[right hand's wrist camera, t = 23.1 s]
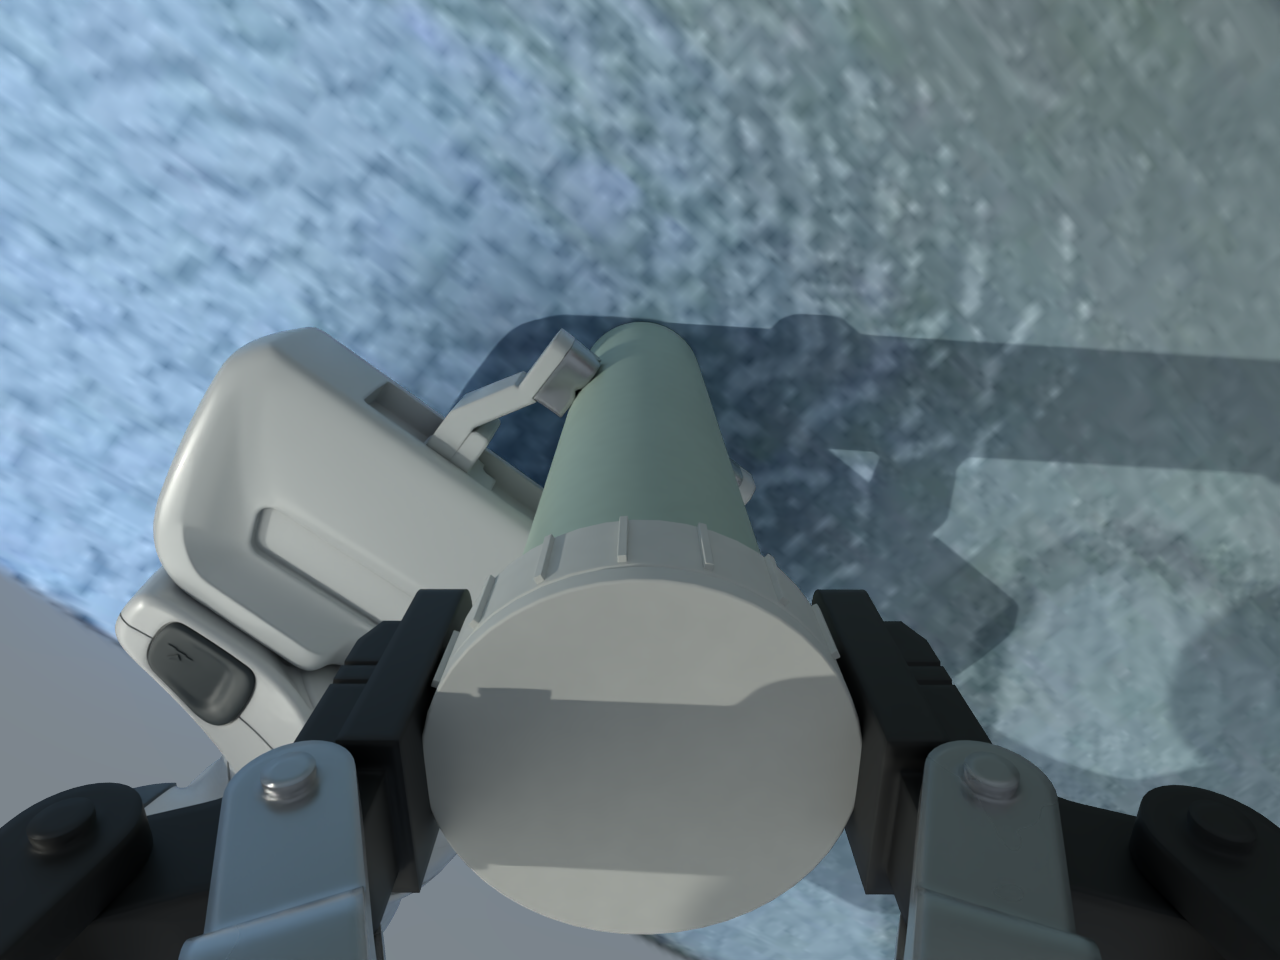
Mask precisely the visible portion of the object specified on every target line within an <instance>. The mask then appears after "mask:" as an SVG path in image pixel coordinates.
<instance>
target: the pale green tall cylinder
mask: <svg viewBox="0 0 1280 960" xmlns="http://www.w3.org/2000/svg"><path fill="white" fill-rule="evenodd" d="M590 350H591V351H592V352H593V353H594V354H596V355H597V356H598V357H599V358H601V359H602V360H601V362H600V367H599V369H598V370H597V372H596V374H595V375H594V376H593V378H592V379H591V380H590V382H589V383H588V384H587V385H586V386H585V387H584V388H582V389H579V390H578V391H577V395H576V398H575V400H574V402H573V403H572V405H571V406H570V408H569V411H568V415H567V418H566V421H565V424H564V427H563V430H562V433H561V436H560V440H559V443H558V446H557V449H556V452H555V455H554V458H553V461H552V464H551V468H550V471H549V474H548V477H547V480H546V483H545V486H544V489H543V493H542V496H541V499H540V502H539V505H538V508H537V511H536V514H535V517H534V521H533V524H532V527H531V530H530V533H529V536H528V539H527V542H526V546H525V549H524V552H523V555H524V554H525V553H527V552H528V551H529V550H531V549H533V548H535V547H537V546H539V545H541V544H542V543H543V541H544V538H545V536H548V535H550V534H552V535H553V537H557V536H560V535H563V534H565V533H568V532H571V531H574V530H576V529H579V528H584V527H588V526H592V525H597V524H601V523H606V522H615V521H619V520H620V516H628V520H662V521H669V522H676V523H683V524H688V525H692V526H696V527H697V526H698V523H699V522H700V523H703V524H706V525H707V530H711V531H714V532H717V533H719V534H721V535H724V536H726V537H729V538H731V539H734V540H736V541H738V542H740V543H742V544H744V545H745V546H747V547H749V548H751V549H753V550H754V551H756V552H758V553H760V551H759V548H758V545H757V541H756V538H755V535H754V532H753V529H752V526H751V523H750V520H749V517H748V514H747V511H746V508H745V505H744V502H743V499H742V496H741V493H740V490H739V487H738V484H737V481H736V477H735V474H734V471H733V468H732V465H731V462H730V459H729V456H728V453H727V450H726V447H725V444H724V441H723V438H722V435H721V432H720V429H719V426H718V423H717V420H716V417H715V413H714V410H713V407H712V404H711V401H710V398H709V395H708V392H707V389H706V386H705V383H704V380H703V377H702V374H701V371H700V368H699V365H698V362H697V359H696V357H695V355H694V353H693V351H692V349H691V348H690V346H689V345H688V344H687V343H686V341H685V340H684V339H683V338H682V337H680V336H679V335H678V334H677V333H675V332H674V331H672V330H670V329H668V328H667V327H664V326H662V325H659V324H655V323H650V322H632V323H627V324H623V325H620V326H618V327H616V328H613V329H611V330H610V331H608V332H607V333H605V334H604V335H603V336H602V337H600V338H599V339H598V340H597V341H596V343H595V344H594V345H593V346H592V348H591V349H590Z"/></svg>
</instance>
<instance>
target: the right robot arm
mask: <svg viewBox="0 0 1280 960" xmlns="http://www.w3.org/2000/svg"><path fill="white" fill-rule="evenodd" d="M814 604H817V605H818V606H819V608H820V610H821V612H822V615H823V617H824V619H825V622H826V624H827V626H828V629H829V631H830V634H831V636H832V638H833V641H834V643H835V645H836V648H837V650H838V652H839V655H840V658H838V659H836V661H837V664H838V666H839V668H840V671H841V673H842V676H843V678H844V681H845V683H846V685H847V688H848V690H849V693H850V695H851V698H852V700H853V703H854V706H855V709H856V712H857V715H858V718H859V722H860V728H861V733H862V749H861V758H860V766H859V774H858V782H857V790H856V797H855V804H854V809H853V812H852V814H851V816H850V818H849V820H848V822H847V824H846V826H845V831H846V834H847V837H848V840H849V843H850V847H851V850H852V853H853V856H854V859H855V862H856V865H857V868H858V872H859V875H860V878H861V881H862V884H863V887H864V890H865V894H894V895H895V898H896V901H897V903H898V906H899V909H900V912H901V913H900V919H899V925H898V931H897V937H896V946H895V956H894V960H1280V828H1279V827H1277V826H1276V825H1275V824H1274V823H1272V822H1271V821H1270V820H1268V819H1267V818H1265V817H1264V816H1263V815H1261V814H1260V813H1258V812H1256V811H1255V810H1253V809H1251V808H1250V807H1248V806H1246V805H1244V804H1242V803H1240V802H1238V801H1236V800H1234V799H1231V798H1229V797H1226V796H1224V795H1221V794H1218V793H1215V792H1212V791H1209V790H1205V789H1201V788H1197V787H1191V786H1183V785H1168V786H1161V787H1158V788H1154V789H1152V790H1151V791H1149V792H1147V794H1146V795H1145V796H1144V797H1143V799H1142V801H1141V804H1140V807H1139V810H1138V814H1137V817H1136V816H1132V815H1127V814H1123V813H1118V812H1114V811H1110V810H1105V809H1101V808H1097V807H1092V806H1088V805H1084V804H1080V803H1076V802H1072V801H1069V800H1066V799H1063V798H1060V797H1057V794H1056V790H1055V789H1054V787H1053V785H1052V783H1051V782H1050V780H1049V779H1048V778H1047V776H1046V775H1045V774H1044V773H1043V772H1042V771H1041V770H1040V769H1039V768H1038V767H1036V766H1035V765H1034V764H1033V763H1031V762H1030V761H1028V760H1027V759H1025V758H1024V757H1022V756H1020V755H1018V754H1016V753H1014V752H1012V751H1010V750H1008V749H1005V748H1003V747H1000V746H997V745H993V744H992V743H991V741H990V740H989V738H988V736H987V735H986V733H985V732H984V730H983V729H982V727H981V725H980V724H979V722H978V721H977V719H976V717H975V716H974V714H973V713H972V711H971V710H970V708H969V706H968V705H967V703H966V702H965V700H964V699H963V697H962V695H961V694H960V692H959V691H958V689H957V687H956V686H955V685H952V680H951V678H950V676H949V675H948V673H947V672H946V670H945V669H944V667H943V666H941V665H940V661H939V659H938V657H937V656H936V654H935V653H934V651H933V650H932V648H931V646H930V645H929V643H928V642H927V640H926V639H924V638H923V637H922V636H920V635H919V634H917V633H916V632H915V631H913V630H912V629H911V628H909V627H908V626H907V625H905V624H904V623H902V622H901V621H883V620H882V618H881V616H880V615H879V613H878V611H877V609H876V607H875V606H874V604H873V602H872V600H871V599H870V597H869V595H868V593H867V592H866V591H865V590H816V591H815V593H814V595H813V600H812V605H814ZM471 608H472V599H471V595H470V592H469V590H468V589H419V590H418V591H417V593H416V595H415V596H414V598H413V600H412V602H411V604H410V606H409V607H408V609H407V611H406V613H405V615H404V616H403V618H402V620H401V621H382V622H381V623H379V624H378V625H377V626H375V627H374V628H373V629H371V630H370V631H369V632H367V633H366V634H364V635H363V636H362V637H360V638H359V639H358V640H357V642H356V643H355V645H354V646H353V648H352V650H351V651H350V653H349V654H348V656H347V658H346V659H345V661H344V665H342V666H341V667H340V669H339V670H338V672H337V674H336V675H335V677H334V678H333V684H330V685H329V686H328V688H327V690H326V691H325V693H324V694H323V696H322V698H321V699H320V701H319V702H318V704H317V706H316V707H315V709H314V710H313V712H312V714H311V715H310V717H309V718H308V720H307V722H306V723H305V725H304V726H303V728H302V730H301V731H300V733H299V734H298V736H297V738H296V739H295V741H294V742H293V743H290V744H287V745H283V746H280V747H277V748H275V749H272V750H270V751H268V752H266V753H264V754H262V755H260V756H258V757H256V758H255V759H253V760H252V761H250V762H249V763H247V764H246V765H245V766H244V767H242V768H241V769H240V770H239V771H238V772H237V773H236V774H235V775H234V776H233V778H232V779H231V780H230V781H229V783H228V785H227V787H226V788H225V790H224V794H223V797H222V798H219V799H216V800H212V801H208V802H205V803H200V804H196V805H192V806H187V807H183V808H178V809H174V810H170V811H165V812H161V813H157V814H152V815H148V816H147V815H146V812H145V809H144V805H143V802H142V799H141V797H140V794H139V793H138V792H137V791H136V790H135V789H133V788H131V787H129V786H127V785H123V784H119V783H96V784H89V785H84V786H80V787H76V788H72V789H69V790H66V791H63V792H60V793H58V794H56V795H53V796H51V797H48V798H46V799H44V800H42V801H40V802H38V803H36V804H34V805H33V806H31V807H29V808H28V809H26V810H24V811H23V812H21V813H20V814H19V815H17V816H16V817H14V818H13V819H12V820H10V821H9V822H8V823H6V824H5V825H4V826H3V827H1V828H0V960H386V957H385V947H384V937H383V931H382V925H381V921H382V918H383V915H384V912H385V909H386V906H387V904H388V901H389V898H390V895H391V893H419V892H420V890H421V886H422V883H423V880H424V877H425V873H426V870H427V867H428V864H429V861H430V857H431V854H432V851H433V848H434V845H435V841H436V838H437V835H438V832H439V829H440V828H439V826H438V824H437V822H436V819H435V817H434V815H433V812H432V810H431V807H430V800H429V793H428V785H427V777H426V769H425V761H424V752H423V742H422V734H423V729H424V725H425V721H426V716H427V712H428V709H429V707H430V705H431V702H432V700H433V697H434V695H435V692H436V690H437V688H434V687H431V684H432V681H433V679H434V676H435V674H436V671H437V669H438V667H439V664H440V662H441V660H442V657H443V655H444V652H445V650H446V648H447V645H448V643H449V641H450V638H451V636H452V633H453V631H454V630H455V631H458V632H460V631H461V628H462V626H463V623H464V621H465V618H466V617H467V615H468V613H469V612H470V610H471Z"/></svg>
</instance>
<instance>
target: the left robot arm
mask: <svg viewBox="0 0 1280 960" xmlns="http://www.w3.org/2000/svg"><path fill="white" fill-rule="evenodd" d="M601 360H602V359H601V358H599V357H598V356H597V355H596V354H594V353H593V352H592V351H591V350H589V349H588V348H587V347H586V346H584V345H583V344H582V343H581V342H579V341H578V340H577V339H575V337H573V336H572V335H571V334H569V333H568V332H567V331H565V330H564V329H562V328H561V330H560V331H559V332H558V333H557V334H556V335H555V337H554V338H553V339H552V341H551V342H550V343H549V345H548V346H547V347H546V349H545V350H544V351H543V353H542V354H541V355H540V357H539V358H538V359H537V361H536V362H535V363H534V365H533V366H532V367H531V369H530V370H529V371H528V373H526V372H525V371H522V372H519V373H517V374H514V375H512V376H509V377H507V378H504V379H502V380H499V381H497V382H494V383H491V384H489V385H486V386H484V387H481V388H479V389H476V390H474V391H471V392H469V393H466V394H465V395H464V396H463V397H462V399H461V400H460V401H459V402H458V403H457V404H456V405H455V407H454V408H453V409H452V410H451V411H450V412H449V414H448V415H447V416H446V418H445V417H443V416H442V415H441V414H439V413H438V412H436V411H435V410H434V409H432V408H431V407H429V406H428V405H427V404H425V403H424V402H422V401H421V400H420V399H418V398H417V397H415V396H414V395H413V394H411V393H410V392H408V391H407V390H406V389H404V388H403V387H401V386H400V385H399V384H397V383H396V382H394V381H393V380H392V379H390V378H389V377H387V376H386V375H385V374H383V373H382V372H380V371H379V370H378V369H376V368H375V367H373V366H372V365H371V364H369V363H368V362H366V361H365V360H364V359H362V358H361V357H359V356H358V355H357V354H355V353H354V352H352V351H351V350H350V349H348V348H347V347H345V346H344V345H343V344H341V343H340V342H339V341H337V340H336V339H334V338H333V337H332V336H330V335H329V334H327V333H326V332H324V331H322V330H320V329H318V328H314V327H305V328H298V329H292V330H287V331H281V332H278V333H274V334H270V335H267V336H264V337H261V338H258V339H256V340H254V341H252V342H250V343H248V344H246V345H244V346H243V347H241V348H239V349H238V350H237V351H236V352H234V353H233V354H232V355H231V356H230V357H229V358H228V359H227V360H226V361H225V363H224V364H223V365H222V366H221V368H220V370H219V371H218V373H217V374H216V376H215V377H214V379H213V381H212V382H211V384H210V386H209V387H208V389H207V391H206V393H205V395H204V396H203V398H202V400H201V402H200V404H199V406H198V408H197V409H196V411H195V413H194V415H193V417H192V419H191V421H190V423H189V425H188V428H187V430H186V432H185V434H184V436H183V438H182V440H181V443H180V445H179V447H178V449H177V452H176V454H175V456H174V458H173V461H172V463H171V466H170V468H169V471H168V474H167V476H166V479H165V482H164V484H163V487H162V489H161V492H160V495H159V498H158V501H157V505H156V509H155V515H154V523H153V535H154V543H155V548H156V552H157V554H158V557H159V559H160V562H161V564H162V566H161V567H160V568H159V569H158V570H157V571H156V572H155V573H154V574H153V575H152V576H151V577H150V578H149V579H148V580H147V581H146V582H145V584H144V585H143V586H142V587H141V588H140V589H139V590H138V591H137V592H136V594H135V595H134V596H133V597H132V598H131V599H130V600H129V602H128V603H127V604H126V605H125V607H124V608H123V610H122V611H121V613H120V615H119V616H118V619H117V621H116V626H115V632H116V636H117V639H118V641H119V643H120V644H121V646H122V647H123V648H124V650H125V651H126V652H127V653H128V654H129V655H130V656H131V657H132V658H133V659H134V660H135V661H136V662H137V663H138V664H139V665H140V666H141V667H142V668H143V669H144V670H145V671H146V672H147V673H148V674H149V675H150V676H151V677H152V678H153V679H154V680H155V681H156V682H157V683H159V685H161V686H162V687H163V688H164V689H165V690H166V691H167V692H168V693H169V694H170V695H171V696H172V697H173V698H174V699H175V700H176V701H177V702H178V704H179V705H180V706H181V707H182V708H183V709H184V710H185V711H186V712H187V713H188V714H189V715H190V716H191V717H192V718H193V719H194V721H195V722H196V723H197V724H198V725H199V726H200V727H201V728H202V729H203V731H204V732H205V733H206V734H207V735H208V737H209V738H210V739H211V740H212V741H213V743H214V744H215V745H216V746H217V748H218V749H219V750H220V752H221V753H222V754H223V755H222V756H221V758H220V759H218V760H217V761H215V762H214V763H213V764H211V765H210V766H209V767H207V768H206V769H205V770H204V771H203V772H202V773H201V774H200V775H199V776H198V777H197V778H196V779H194V780H193V781H192V782H191V783H190V785H189V786H188V787H186V788H179V787H177V785H176V783H161V784H153V785H147V786H142V787H137V788H133V789H135V790H136V791H137V792H138V793H139V794H140V797H141V799H142V802H143V805H144V809H145V812H146V815H147V816H148V815H152V814H157V813H161V812H165V811H170V810H174V809H178V808H183V807H187V806H192V805H196V804H200V803H205V802H208V801H212V800H216V799H219V798H222V797H223V794H224V790H225V788H226V787H227V785H228V783H229V781H230V780H231V779H232V778H233V776H234V775H235V774H236V773H237V772H238V771H239V770H240V769H241V768H242V767H244V766H245V765H246V764H247V763H249V762H250V761H252V760H253V759H255V758H256V757H258V756H260V755H262V754H264V753H266V752H268V751H270V750H272V749H275V748H277V747H280V746H283V745H287V744H290V743H293V742H294V741H295V739H296V738H297V736H298V734H299V733H300V731H301V730H302V728H303V726H304V725H305V723H306V722H307V720H308V718H309V717H310V715H311V714H312V712H313V710H314V709H315V707H316V706H317V704H318V702H319V701H320V699H321V698H322V696H323V694H324V693H325V691H326V690H327V688H328V686H329V685H330V684H333V678H334V677H335V675H336V674H337V672H338V670H339V669H340V667H341V666H342V665H344V661H345V659H346V658H347V656H348V654H349V653H350V651H351V650H352V648H353V646H354V645H355V643H356V642H357V640H358V639H359V638H360V637H362V636H363V635H364V634H366V633H367V632H369V631H370V630H371V629H373V628H374V627H375V626H377V625H378V624H379V623H381V622H382V621H401V620H402V618H403V616H404V615H405V613H406V611H407V609H408V607H409V606H410V604H411V602H412V600H413V598H414V596H415V595H416V593H417V591H418V590H419V589H468V590H469V592H470V595H471V599H472V607H473V605H474V603H475V602H476V600H477V598H478V597H479V596H480V593H481V591H482V588H483V586H484V583H485V581H486V579H487V578H488V577H489V576H490V575H492V576H493V577H496V576H497V575H499V574H500V573H501V572H502V571H503V570H504V569H505V568H506V567H507V566H508V565H509V564H511V563H512V562H513V561H515V560H516V559H518V558H519V557H521V556H522V555H523V552H524V549H525V546H526V542H527V539H528V536H529V533H530V530H531V527H532V524H533V521H534V517H535V514H536V511H537V508H538V505H539V502H540V499H541V496H542V493H543V489H544V488H543V487H541V486H540V485H539V484H537V483H536V482H534V481H533V480H532V479H530V478H529V477H527V476H526V475H525V474H523V473H522V472H520V471H519V470H518V469H516V468H515V467H513V466H512V465H511V464H509V463H508V462H506V461H505V460H504V459H502V458H501V457H499V456H498V455H497V454H495V453H494V452H492V451H491V450H490V449H488V448H487V446H488V444H489V442H490V441H491V439H492V437H493V436H494V434H495V433H496V431H497V429H498V428H499V426H500V424H501V423H500V419H499V417H502V416H504V415H507V414H509V413H511V412H514V411H516V410H519V409H521V408H523V407H526V406H528V405H531V404H533V403H536V402H537V401H538V402H539V403H541V404H542V405H544V406H545V407H546V408H548V409H549V410H551V411H552V412H554V413H555V414H556V415H558V416H559V417H562V416H563V415H564V414H565V412H566V411H567V410H568V408H569V407H570V406H571V405H572V403H573V402H574V400H575V398H576V395H577V391H578V390H579V389H582V388H584V387H585V386H586V385H587V384H588V383H589V382H590V380H591V379H592V378H593V376H594V375H595V374H596V372H597V370H598V369H599V367H600V362H601ZM729 459H730V458H729ZM730 462H731V465H732V468H733V471H734V474H735V477H736V481H737V484H738V487H739V490H740V493H741V496H742V499H743V502H744V505H746V504H747V503H748V501H749V500H750V499H751V497H752V495H753V493H754V491H755V489H756V485H755V483H754V480H753V478H752V475H751V474H750V473H749V472H747V471H746V470H745V469H743V468H742V467H741V466H740V465H738V464H737V463H736V462H734V461H733V460H732V459H730ZM456 854H457V853H456V852H455V851H454V849H453V848H452V847H451V845H450V844H449V842H448V841H447V839H446V837H445V836H444V834H443V833H442V831H441V830H440V829H439V832H438V835H437V838H436V841H435V845H434V848H433V851H432V854H431V857H430V861H429V864H428V867H427V870H426V873H425V877H424V880H423V883H422V886H421V887H423V886H424V885H425V884H427V883H428V882H429V881H430V880H431V879H433V878H434V877H435V876H436V875H437V874H438V873H439V872H440V871H441V870H442V869H443V868H444V867H445V866H446V865H447V864H448V863H449V861H450V860H451V859H452V858H453V857H454V856H455V855H456ZM410 894H412V893H391V895H390V898H389V901H388V904H387V906H386V909H385V912H384V915H383V918H382V921H381V925H382V931H383V932H384V931H385V929H386V928H387V926H388V925H389V923H390V922H391V920H392V918H393V916H394V914H395V912H396V910H397V908H398V906H399V904H400V901H401V899H402V898H404V897H406V896H408V895H410Z"/></svg>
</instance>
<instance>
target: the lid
mask: <svg viewBox="0 0 1280 960" xmlns="http://www.w3.org/2000/svg"><path fill="white" fill-rule="evenodd" d="M838 658H840V655H839V652H838V650H837V648H836V645H835V643H834V641H833V638H832V636H831V634H830V631H829V629H828V626H827V624H826V622H825V619H824V617H823V615H822V612H821V610H820V608H819V606H818V605H817V604H814V605H812V606H811V604H810V603H809V601H808V600H807V599H806V597H805V596H804V595H803V593H802V592H801V591H800V589H799V588H798V587H797V585H796V584H795V583H794V582H793V581H792V580H791V579H790V578H789V577H788V576H787V575H786V574H784V573H783V572H782V571H781V570H780V569H779V568H778V567H777V565H776V562H775V559H774V557H772V556H771V555H770V554H767V555H766V556H765V557H764V556H762V555H761V554H760V553H758V552H756V551H754V550H753V549H751V548H749V547H747V546H745V545H744V544H742V543H740V542H738V541H736V540H734V539H731V538H729V537H726V536H724V535H721V534H719V533H717V532H714V531H711V530H707V525H706V524H703V523H700V522H699V523H698V526H697V527H696V526H692V525H688V524H683V523H676V522H669V521H662V520H628V516H620V520H619V521H615V522H606V523H601V524H597V525H592V526H588V527H584V528H579V529H576V530H574V531H571V532H568V533H565V534H563V535H560V536H557V537H553V535H552V534H550V535H548V536H545V538H544V541H543V543H542V544H541V545H539V546H537V547H535V548H533V549H531V550H529V551H528V552H527V553H525V554H524V555H522V556H521V557H519V558H518V559H516V560H515V561H513V562H512V563H511V564H509V565H508V566H507V567H506V568H505V569H504V570H503V571H502V572H501V573H500V574H499V575H497V576H496V577H493V576H492V575H490V576H489V577H488V578H487V579H486V581H485V583H484V586H483V588H482V591H481V593H480V596H479V597H478V598H477V600H476V602H475V603H474V605H473V607H472V608H471V610H470V612H469V613H468V615H467V617H466V618H465V621H464V623H463V626H462V628H461V631H460V632H458V631H455V630H454V631H453V633H452V636H451V638H450V641H449V643H448V645H447V648H446V650H445V652H444V655H443V657H442V660H441V662H440V664H439V667H438V669H437V671H436V674H435V676H434V679H433V681H432V684H431V687H434V688H437V690H436V692H435V695H434V697H433V700H432V702H431V705H430V707H429V709H428V712H427V716H426V721H425V725H424V729H423V734H422V742H423V752H424V761H425V769H426V777H427V785H428V793H429V800H430V807H431V810H432V812H433V815H434V817H435V819H436V822H437V824H438V826H439V828H440V830H441V831H442V833H443V834H444V836H445V837H446V839H447V841H448V842H449V844H450V845H451V847H452V848H453V849H454V851H455V852H456V853H457V854H458V855H459V856H460V858H461V859H462V860H463V861H464V862H465V864H466V865H467V866H468V867H469V868H470V869H472V870H473V871H474V872H475V873H476V874H477V875H478V876H479V877H480V878H481V879H482V880H483V881H485V882H486V883H487V884H489V885H490V886H492V887H493V888H494V889H496V890H497V891H498V892H500V893H501V894H503V895H504V896H506V897H507V898H509V899H511V900H513V901H515V902H516V903H518V904H520V905H522V906H523V907H525V908H527V909H530V910H532V911H534V912H536V913H539V914H541V915H544V916H546V917H548V918H551V919H554V920H557V921H561V922H564V923H567V924H570V925H573V926H578V927H582V928H587V929H592V930H597V931H604V932H613V933H622V934H660V933H672V932H681V931H686V930H692V929H697V928H703V927H707V926H710V925H714V924H717V923H721V922H724V921H728V920H730V919H733V918H735V917H738V916H740V915H743V914H746V913H748V912H751V911H753V910H755V909H757V908H758V907H760V906H762V905H764V904H766V903H768V902H770V901H772V900H774V899H775V898H777V897H778V896H780V895H781V894H783V893H784V892H786V891H787V890H789V889H790V888H792V887H793V886H795V885H796V884H797V883H798V882H799V881H800V880H802V879H803V878H804V877H805V876H806V875H807V874H809V873H810V872H811V871H812V870H813V869H814V868H815V867H816V866H817V865H818V864H819V862H820V861H821V860H822V859H823V858H824V857H825V856H826V855H827V854H828V853H829V851H830V850H831V848H832V847H833V845H834V844H835V842H836V841H837V840H838V838H839V837H840V835H841V834H842V832H843V830H844V828H845V826H846V824H847V822H848V820H849V818H850V816H851V814H852V812H853V809H854V804H855V797H856V790H857V782H858V774H859V766H860V758H861V749H862V733H861V728H860V722H859V718H858V715H857V712H856V709H855V706H854V703H853V700H852V698H851V695H850V693H849V690H848V688H847V685H846V683H845V681H844V678H843V676H842V673H841V671H840V668H839V666H838V664H837V661H836V659H838Z"/></svg>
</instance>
